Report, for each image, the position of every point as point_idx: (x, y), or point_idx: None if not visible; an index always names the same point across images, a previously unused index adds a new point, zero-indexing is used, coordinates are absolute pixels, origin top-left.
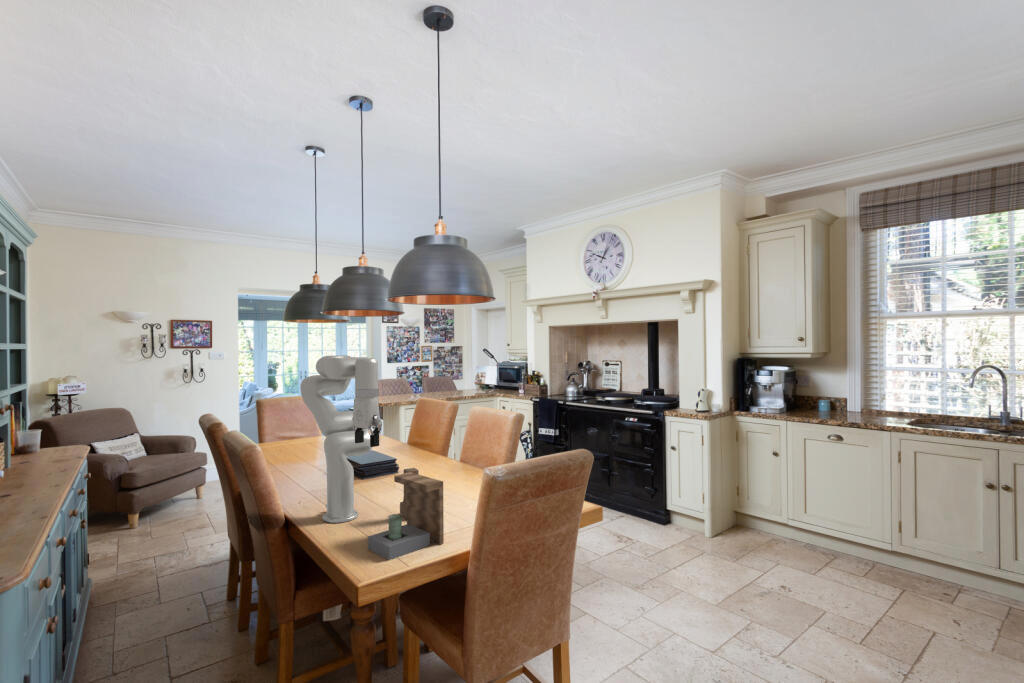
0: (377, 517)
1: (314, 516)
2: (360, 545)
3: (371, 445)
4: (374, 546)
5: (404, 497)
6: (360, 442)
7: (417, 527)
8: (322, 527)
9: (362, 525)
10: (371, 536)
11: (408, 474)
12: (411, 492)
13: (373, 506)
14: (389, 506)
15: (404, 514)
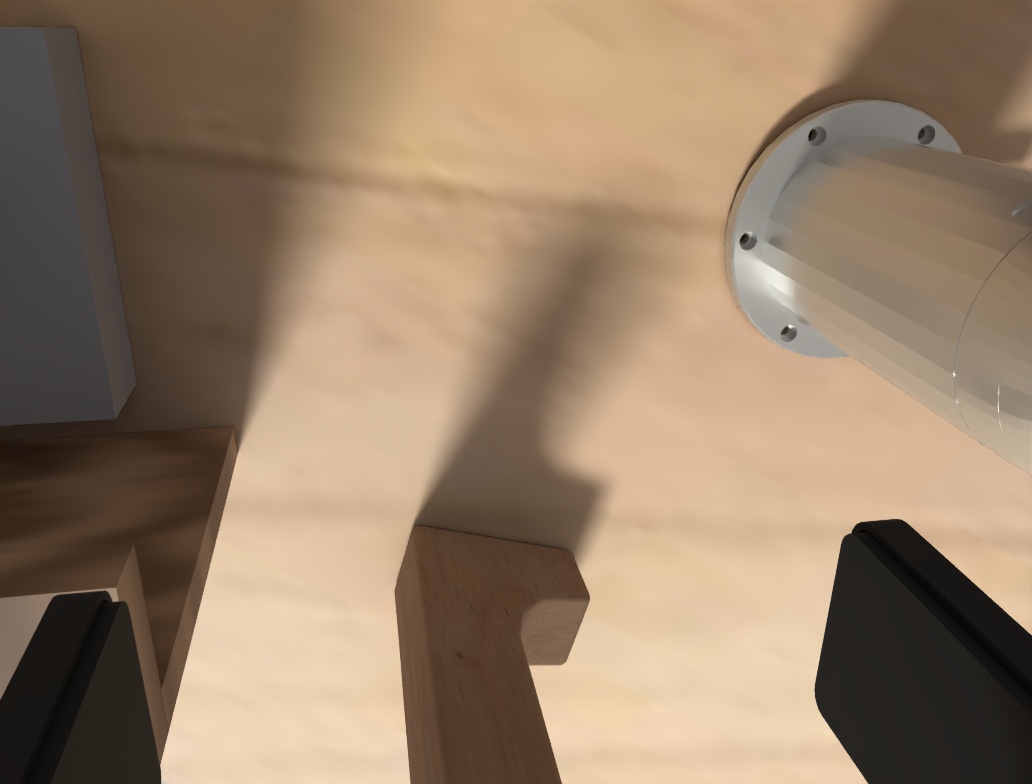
0: (632, 415)
1: (1022, 104)
2: (200, 31)
3: (47, 628)
4: None
5: (493, 622)
6: (826, 626)
7: (82, 461)
8: (775, 23)
9: (574, 262)
10: (24, 53)
11: None
12: None
13: (837, 497)
14: (749, 568)
15: (477, 546)
